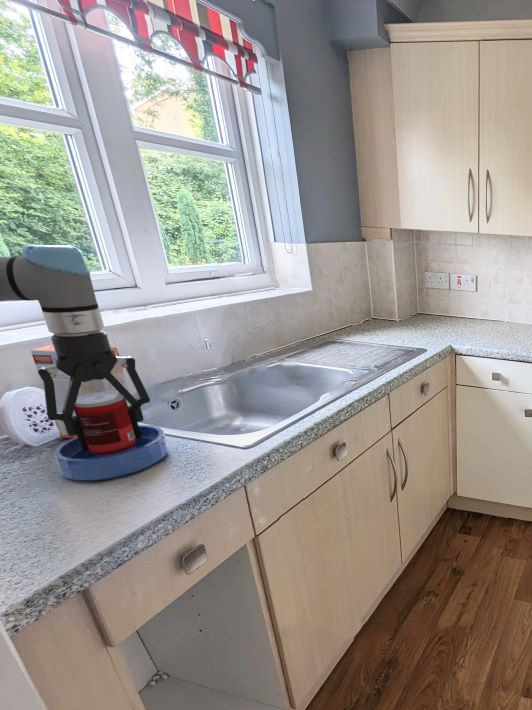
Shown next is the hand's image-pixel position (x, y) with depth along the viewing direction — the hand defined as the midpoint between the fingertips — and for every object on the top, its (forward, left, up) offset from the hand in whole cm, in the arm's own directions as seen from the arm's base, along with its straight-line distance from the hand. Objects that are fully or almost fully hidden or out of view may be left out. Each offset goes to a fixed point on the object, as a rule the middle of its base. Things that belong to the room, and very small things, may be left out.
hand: (112, 442), depth 92 cm
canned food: (0, 0, -1) cm, 1 cm away
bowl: (0, 0, -5) cm, 5 cm away
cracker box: (-4, +18, -5) cm, 20 cm away
